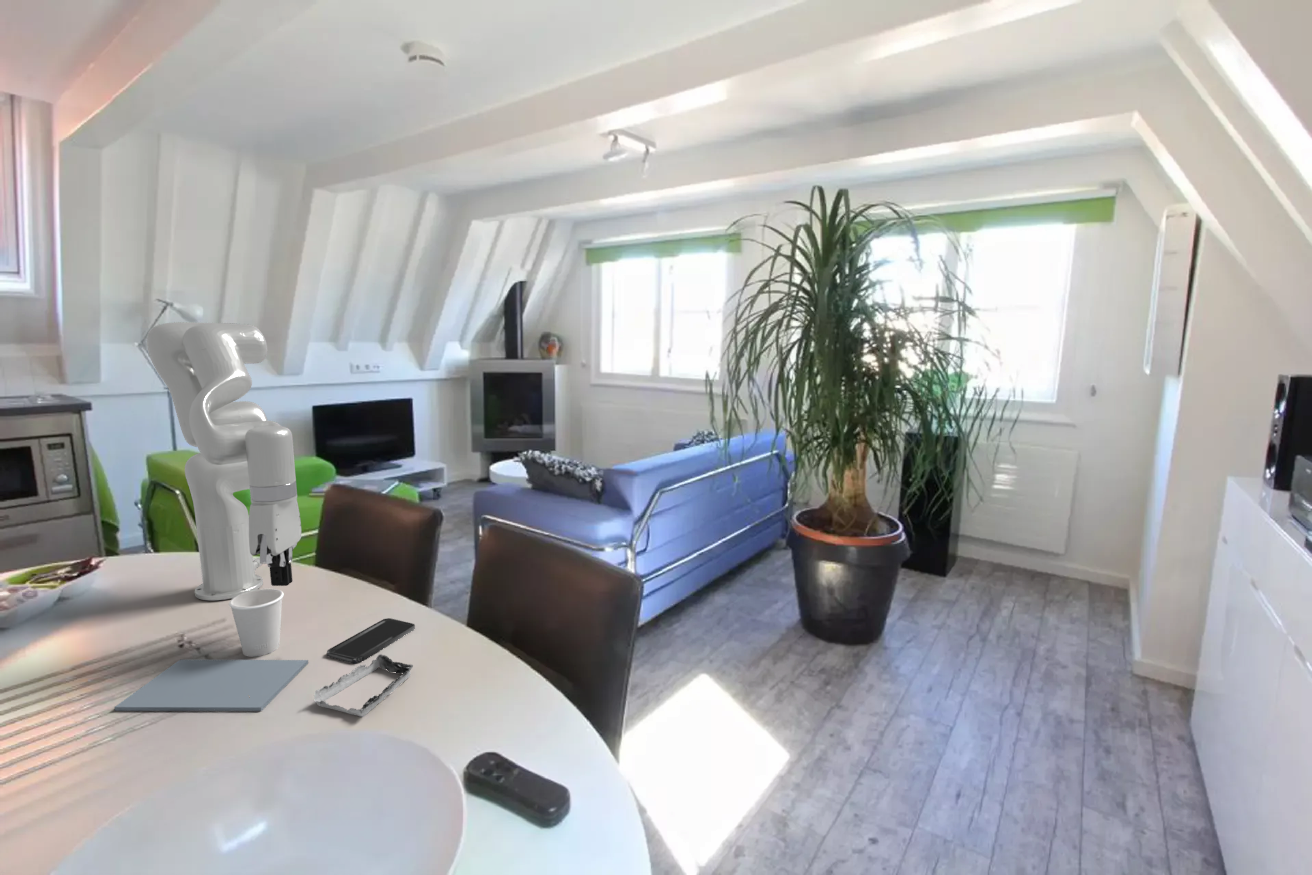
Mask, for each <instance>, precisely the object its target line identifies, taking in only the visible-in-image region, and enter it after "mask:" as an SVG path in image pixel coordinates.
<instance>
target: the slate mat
mask: <svg viewBox="0 0 1312 875" xmlns="http://www.w3.org/2000/svg"><path fill="white" fill-rule="evenodd" d="M308 664H309V660H308V659H179V660H177V661H176V662H175V663H173V664H172V665H171V666H169V667H168V668H167V669H166V668H165V670H163V671H162V672H161V673H160V674H158V675H156V677H154V678H153V679H151V680H150V681H148V682H147V683H146V684H144V685H143V686H142V687H140V688H139V689H138V690H136V691H135V692H133V693H132V694H131V695H129V696H128V697H126V698H125V699H124V700H122V701H121V702H119V703H118V704H117V705H116V706H114V712H115V711H116V712H117V711H118V712H120V711H121V712H125V711H126V712H127V711H129V712H133V711H134V712H135V711H136V712H137V711H138V712H140V711H142V712H143V711H144V712H150V711H151V712H171V711H172V712H238V711H239V712H262V711H264V709H265V708H266V707H267V706H268V705H269V703H271V702H272V701H273V700H274V699H275V698H276V697H277V695H278V694H280V693H281V692H282V691H283V690H284V688H286V686H287V685H288V684H289V683H290V682H292V681H293V680H294V678H295V677H297V676H298V674H299V673H300V672H302V670H303V669H304V668H305V667H306V666H307V665H308ZM248 695H249V696H250V698H249V696H248Z"/></svg>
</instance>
